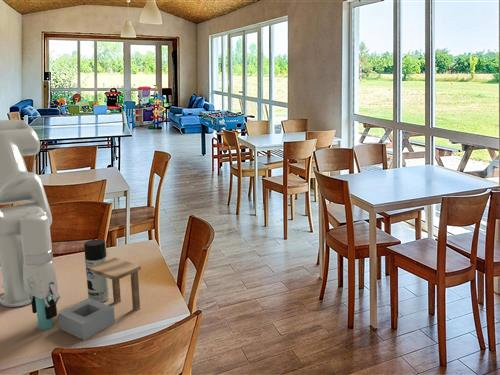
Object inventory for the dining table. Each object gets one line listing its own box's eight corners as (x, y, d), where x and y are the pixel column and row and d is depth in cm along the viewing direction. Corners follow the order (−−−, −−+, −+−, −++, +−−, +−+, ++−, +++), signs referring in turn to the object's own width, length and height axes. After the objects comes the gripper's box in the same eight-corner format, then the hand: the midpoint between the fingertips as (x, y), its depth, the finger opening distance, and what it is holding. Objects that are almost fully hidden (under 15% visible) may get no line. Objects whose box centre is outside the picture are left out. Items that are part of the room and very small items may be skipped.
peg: (35, 327, 133) (31, 290, 130) (48, 321, 136) (44, 284, 133) (43, 331, 130) (39, 293, 128) (56, 325, 134) (52, 288, 131)
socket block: (59, 328, 132) (58, 313, 131) (91, 312, 141) (89, 298, 140) (84, 340, 126) (82, 323, 125) (115, 322, 135) (113, 307, 134)
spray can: (84, 299, 149) (79, 242, 145) (102, 292, 155) (97, 237, 150) (96, 305, 145) (91, 247, 141) (113, 298, 151) (109, 241, 146)
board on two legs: (92, 311, 142) (89, 268, 139) (117, 298, 150) (114, 257, 147) (118, 321, 136) (115, 277, 132) (143, 308, 144) (140, 265, 140)
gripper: (8, 254, 130) (16, 311, 134) (44, 267, 120) (50, 328, 125) (33, 246, 136) (39, 301, 140) (68, 258, 127) (74, 317, 131)
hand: (44, 313), depth 132 cm, fingers open, 5 cm apart
